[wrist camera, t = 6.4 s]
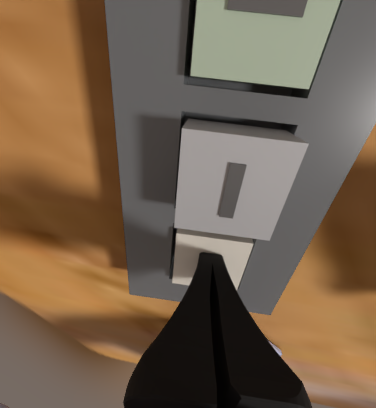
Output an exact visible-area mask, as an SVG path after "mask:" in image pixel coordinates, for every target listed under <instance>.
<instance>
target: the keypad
mask: <svg viewBox="0 0 376 408" xmlns="http://www.w3.org/2000/svg"><path fill="white" fill-rule="evenodd" d="M196 5H197V0H105V12H106V24H107V36H108V47H109V59H110V71H111V82H112V94H113V106H114V117H115V129H116V141H117V152H118V164H119V176H120V187H121V199H122V211H123V223H124V234H125V246H126V258H127V269H128V281H129V293H130V294H131V295H137V296H144V297H151V298H158V299H165V300H171V301H178V302H181V300H182V299H183V297H184V295H185V293H186V291H187V289H188V287H189V285H182V284H175V283H172V279H173V268H174V257H175V245H176V234H177V229H178V228H174V223H175V210H176V197H177V184H178V172H179V159H180V146H181V133H182V127H183V126H184V124H185V123H186V121H187V120H188V119H197V120H205V121H213V122H222V123H230V124H238V125H247V126H255V127H263V128H272V129H280V130H287V131H288V132H290V133H292V134H293V135H295V136H297V137H298V138H300V139H302V140H304V141H305V142H307V143H309V145H308V147H307V150H306V152H305V155H304V157H303V160H302V162H301V164H300V167H299V169H298V172H297V174H296V177H295V179H294V182H293V184H292V187H291V189H290V192H289V194H288V196H287V199H286V201H285V204H284V206H283V209H282V211H281V214H280V216H279V219H278V221H277V223H276V226H275V228H274V231H273V233H272V236H271V238H270V241H268V240H260V239H253V238H252V240H253V243H254V244H253V247H252V250H251V253H250V255H249V258H248V261H247V264H246V267H245V269H244V272H243V275H242V278H241V281H240V283H239V286H238V289H237V292H238V294H239V296H240V298H241V300H242V302H243V303H244V305H245V307H246V309H247V310H248V312H253V313H260V314H267V315H271V313H272V311H273V309H274V307H275V306H276V304H277V302H278V300H279V298H280V296H281V295H282V293H283V291H284V289H285V287H286V285H287V284H288V282H289V280H290V278H291V276H292V275H293V273H294V271H295V269H296V267H297V265H298V264H299V262H300V260H301V258H302V256H303V255H304V253H305V251H306V249H307V247H308V245H309V244H310V242H311V240H312V238H313V236H314V234H315V233H316V231H317V229H318V227H319V225H320V224H321V222H322V220H323V218H324V216H325V214H326V213H327V211H328V209H329V207H330V205H331V203H332V202H333V200H334V198H335V196H336V194H337V193H338V191H339V189H340V187H341V185H342V183H343V182H344V180H345V178H346V176H347V174H348V173H349V171H350V169H351V167H352V165H353V163H354V162H355V160H356V158H357V156H358V154H359V152H360V151H361V149H362V147H363V145H364V143H365V142H366V140H367V138H368V136H369V134H370V132H371V131H372V129H373V127H374V125H375V123H376V0H340V3H339V6H338V9H337V12H336V15H335V17H334V20H333V23H332V26H331V29H330V31H329V34H328V37H327V40H326V43H325V45H324V48H323V51H322V54H321V57H320V59H319V62H318V65H317V68H316V71H315V73H314V76H313V79H312V82H311V85H310V87H309V89H291V88H280V87H271V86H262V85H253V84H245V83H236V82H227V81H218V80H209V79H201V78H194V77H192V76H190V74H191V63H192V51H193V40H194V28H195V17H196Z"/></svg>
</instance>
